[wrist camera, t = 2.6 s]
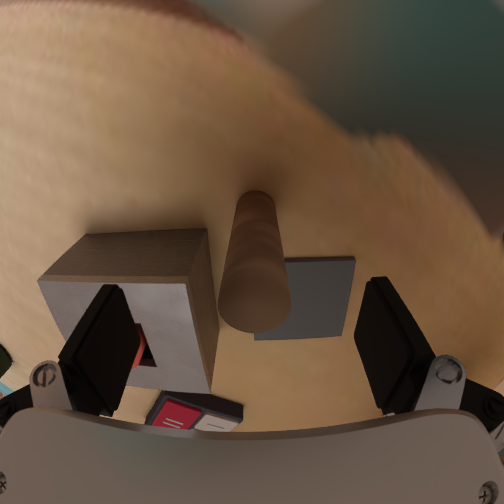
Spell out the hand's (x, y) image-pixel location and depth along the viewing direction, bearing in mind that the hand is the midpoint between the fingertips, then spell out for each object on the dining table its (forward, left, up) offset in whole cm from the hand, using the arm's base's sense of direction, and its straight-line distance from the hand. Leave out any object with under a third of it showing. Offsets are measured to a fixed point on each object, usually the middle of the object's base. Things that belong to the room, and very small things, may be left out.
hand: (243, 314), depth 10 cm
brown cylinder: (0, 0, -13) cm, 13 cm away
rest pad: (-4, +9, -13) cm, 17 cm away
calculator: (+10, +32, -14) cm, 36 cm away
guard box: (+10, +7, -13) cm, 18 cm away
